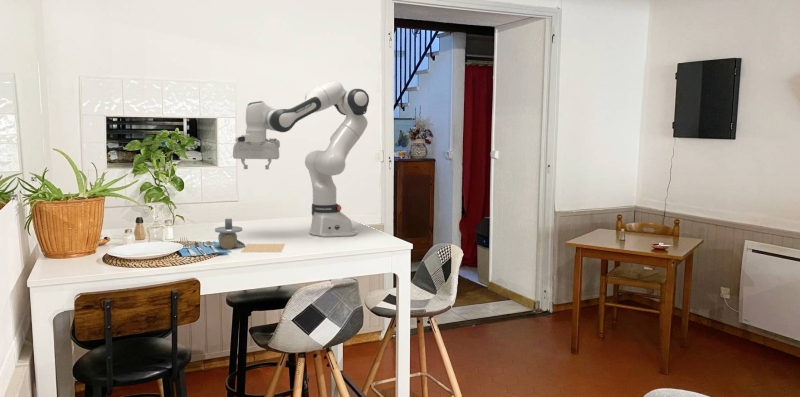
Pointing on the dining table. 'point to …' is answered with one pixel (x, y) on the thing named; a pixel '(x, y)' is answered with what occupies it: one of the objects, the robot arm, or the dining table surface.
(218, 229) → the lid
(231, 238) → the ceramic mug
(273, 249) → the mat
